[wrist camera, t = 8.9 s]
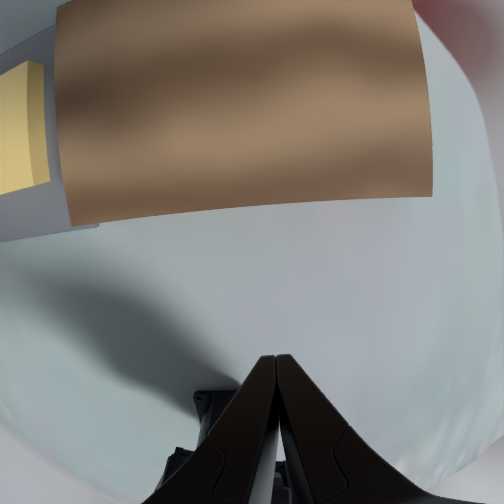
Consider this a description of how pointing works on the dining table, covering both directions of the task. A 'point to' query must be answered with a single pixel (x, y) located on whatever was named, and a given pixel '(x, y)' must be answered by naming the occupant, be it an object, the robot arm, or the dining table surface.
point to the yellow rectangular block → (22, 128)
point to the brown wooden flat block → (238, 104)
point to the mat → (49, 193)
